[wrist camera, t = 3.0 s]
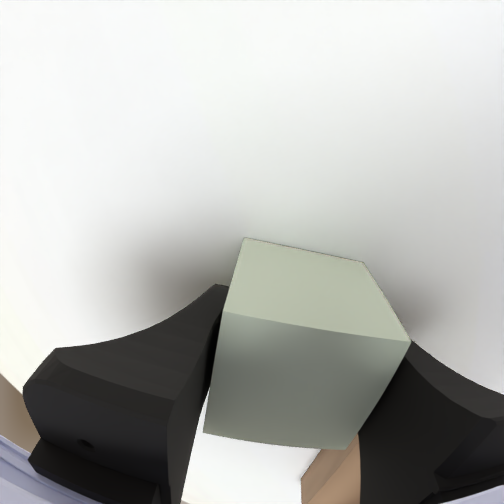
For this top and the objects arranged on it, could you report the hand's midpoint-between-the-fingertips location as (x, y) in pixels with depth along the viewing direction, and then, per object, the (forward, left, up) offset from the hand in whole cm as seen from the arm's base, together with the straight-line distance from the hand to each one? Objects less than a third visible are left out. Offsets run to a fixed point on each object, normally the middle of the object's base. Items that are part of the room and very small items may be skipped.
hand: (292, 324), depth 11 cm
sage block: (0, 0, -1) cm, 1 cm away
